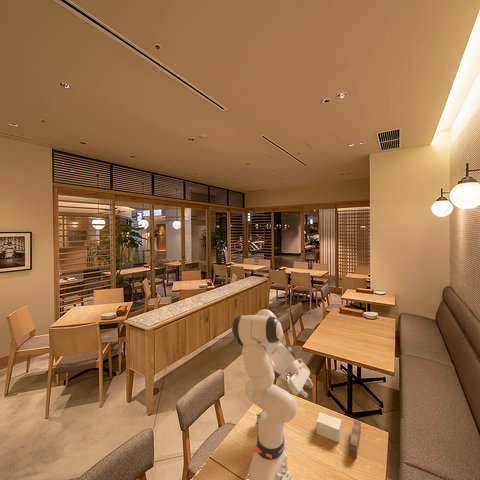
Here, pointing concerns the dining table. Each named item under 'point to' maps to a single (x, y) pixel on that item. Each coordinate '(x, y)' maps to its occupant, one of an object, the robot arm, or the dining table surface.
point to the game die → (259, 415)
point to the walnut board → (355, 438)
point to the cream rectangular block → (329, 427)
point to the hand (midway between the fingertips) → (309, 391)
